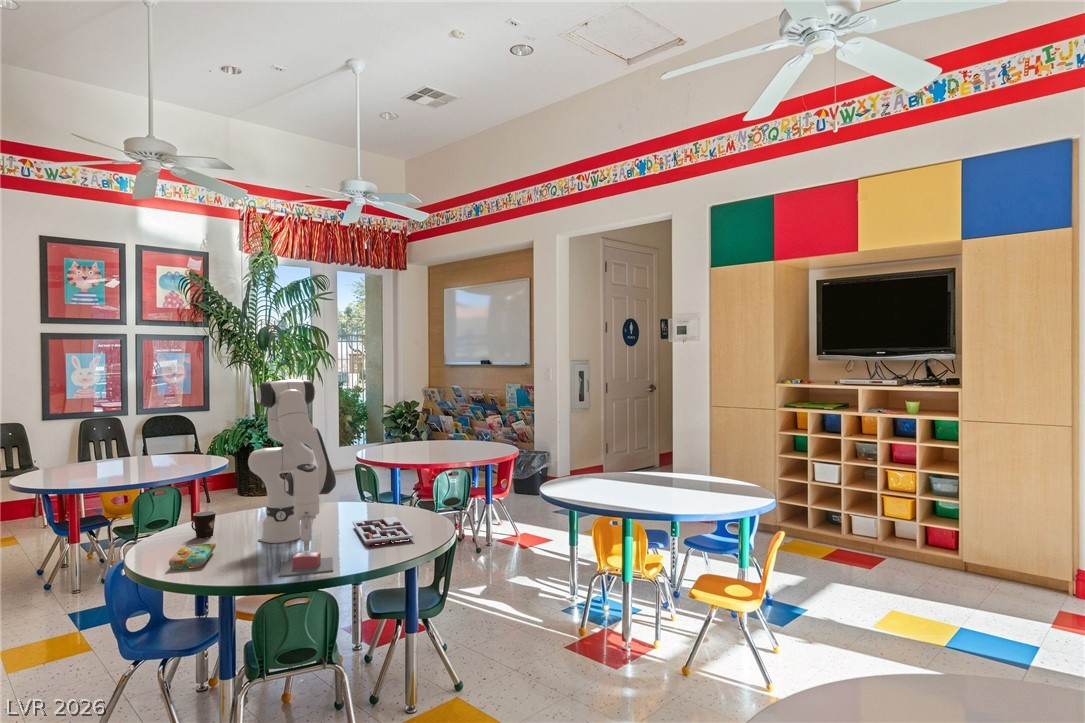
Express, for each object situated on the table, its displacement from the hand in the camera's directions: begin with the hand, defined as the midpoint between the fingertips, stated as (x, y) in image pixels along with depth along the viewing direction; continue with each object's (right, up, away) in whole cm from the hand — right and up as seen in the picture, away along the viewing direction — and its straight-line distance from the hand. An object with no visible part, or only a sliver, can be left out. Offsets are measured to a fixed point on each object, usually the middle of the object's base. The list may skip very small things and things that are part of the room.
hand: (306, 546), depth 237 cm
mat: (0, -8, -1) cm, 7 cm away
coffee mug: (-60, -8, +40) cm, 73 cm away
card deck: (0, -7, 0) cm, 7 cm away
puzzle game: (-46, -8, +8) cm, 47 cm away
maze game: (+17, -8, +44) cm, 48 cm away
